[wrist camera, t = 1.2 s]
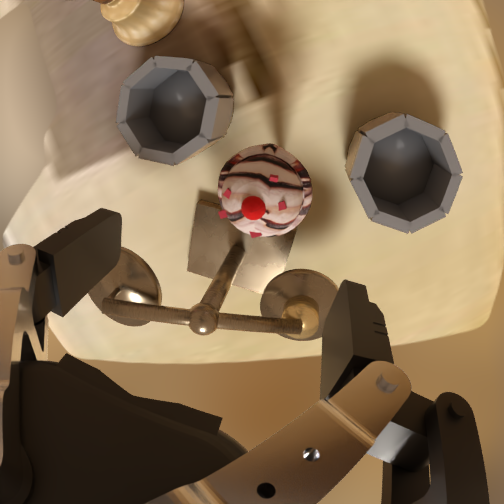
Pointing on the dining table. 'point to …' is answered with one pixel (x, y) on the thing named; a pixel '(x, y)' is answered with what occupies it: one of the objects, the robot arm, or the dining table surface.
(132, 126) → the cup
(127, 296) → the balance
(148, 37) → the hand bell
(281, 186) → the ice cream cone
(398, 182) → the cup
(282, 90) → the dining table surface
